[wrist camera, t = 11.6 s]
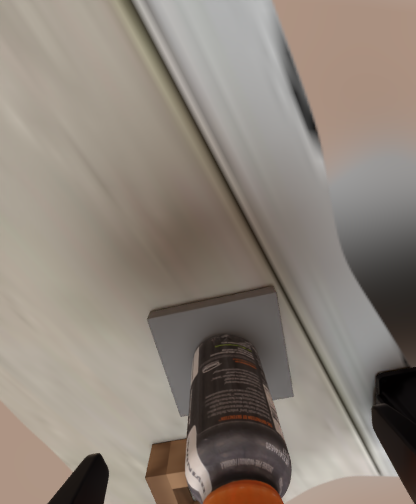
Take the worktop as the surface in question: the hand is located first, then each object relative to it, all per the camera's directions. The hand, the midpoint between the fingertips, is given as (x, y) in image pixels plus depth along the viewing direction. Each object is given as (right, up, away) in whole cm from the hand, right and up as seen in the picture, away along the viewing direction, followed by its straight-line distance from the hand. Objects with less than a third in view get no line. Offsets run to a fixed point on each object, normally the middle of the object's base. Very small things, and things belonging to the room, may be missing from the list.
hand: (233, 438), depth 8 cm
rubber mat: (+1, -3, +14) cm, 15 cm away
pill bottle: (+1, -4, +13) cm, 14 cm away
